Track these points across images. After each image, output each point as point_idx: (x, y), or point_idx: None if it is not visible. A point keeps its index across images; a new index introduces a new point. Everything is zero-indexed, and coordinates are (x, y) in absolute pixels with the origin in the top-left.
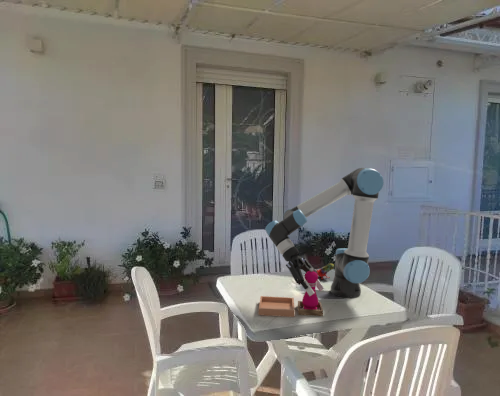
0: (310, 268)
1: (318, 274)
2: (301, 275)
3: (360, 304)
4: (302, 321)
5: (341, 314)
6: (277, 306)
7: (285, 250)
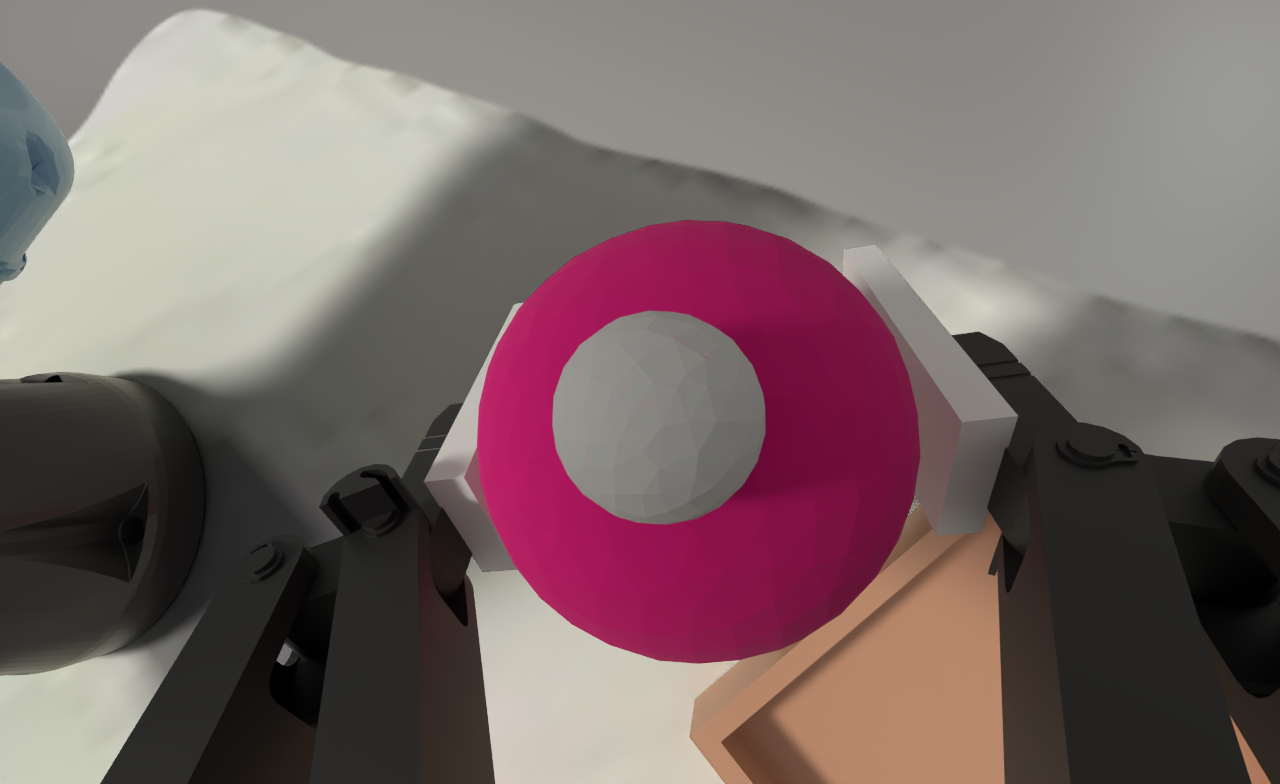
0: (723, 435)
1: None
2: (1139, 595)
3: (258, 257)
4: (991, 330)
5: (558, 217)
6: (968, 764)
7: None
